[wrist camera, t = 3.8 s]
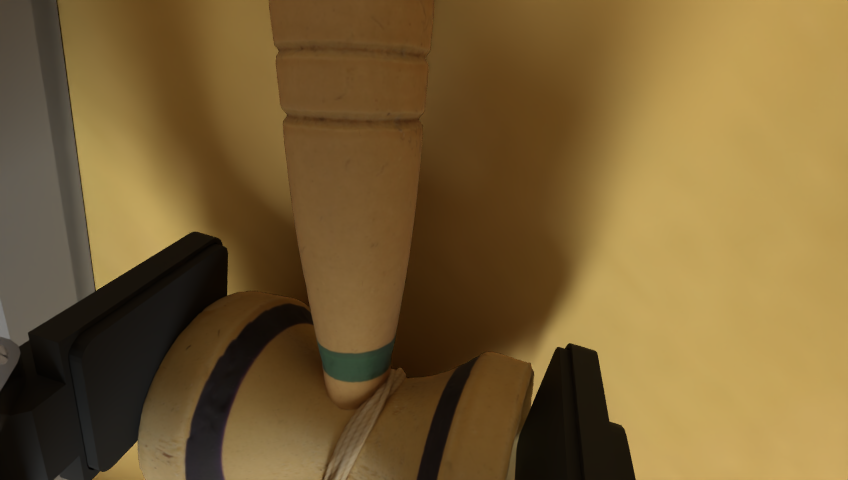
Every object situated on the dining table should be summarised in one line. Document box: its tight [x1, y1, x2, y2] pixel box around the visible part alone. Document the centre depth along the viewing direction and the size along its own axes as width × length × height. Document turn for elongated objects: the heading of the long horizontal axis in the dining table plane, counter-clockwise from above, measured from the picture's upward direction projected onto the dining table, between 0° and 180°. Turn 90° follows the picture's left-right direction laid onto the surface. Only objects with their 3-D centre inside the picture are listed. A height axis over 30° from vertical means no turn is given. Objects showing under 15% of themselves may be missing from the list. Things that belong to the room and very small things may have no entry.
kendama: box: [138, 0, 534, 480], centre depth 10 cm, size 8×6×18 cm
